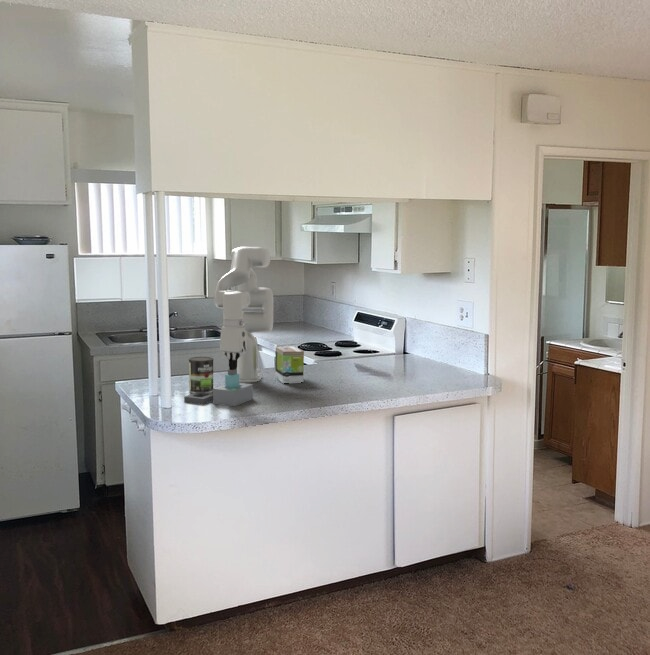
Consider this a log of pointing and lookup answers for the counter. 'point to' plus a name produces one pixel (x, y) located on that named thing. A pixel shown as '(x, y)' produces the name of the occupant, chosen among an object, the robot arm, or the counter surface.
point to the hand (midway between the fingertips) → (233, 369)
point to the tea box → (289, 364)
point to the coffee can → (201, 374)
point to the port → (232, 394)
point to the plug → (232, 379)
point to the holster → (199, 398)
